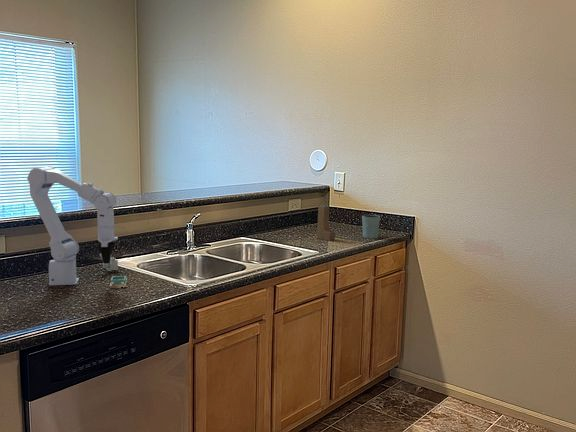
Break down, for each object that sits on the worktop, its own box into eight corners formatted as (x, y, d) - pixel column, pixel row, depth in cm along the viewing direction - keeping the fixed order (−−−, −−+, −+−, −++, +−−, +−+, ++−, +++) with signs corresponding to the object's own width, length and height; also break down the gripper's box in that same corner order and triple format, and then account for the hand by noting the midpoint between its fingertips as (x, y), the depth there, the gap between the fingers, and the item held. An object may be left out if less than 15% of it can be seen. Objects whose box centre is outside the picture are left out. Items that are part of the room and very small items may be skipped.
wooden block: (334, 239, 302) (336, 207, 299) (329, 241, 298) (331, 207, 296) (322, 237, 308) (323, 205, 305) (316, 238, 305) (318, 205, 302)
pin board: (109, 288, 204) (109, 281, 204) (112, 281, 213) (111, 274, 213) (125, 287, 206) (125, 281, 205) (127, 280, 215) (126, 274, 214)
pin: (102, 268, 205) (101, 249, 204) (103, 266, 208) (102, 247, 207) (111, 268, 205) (110, 249, 204) (111, 265, 208) (111, 247, 207)
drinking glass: (373, 239, 306) (374, 217, 304) (357, 236, 312) (358, 215, 310) (382, 236, 314) (383, 215, 312) (366, 234, 320) (367, 213, 318)
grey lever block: (116, 269, 231) (115, 250, 229) (118, 270, 229) (117, 251, 228) (99, 272, 226) (99, 252, 225) (101, 272, 225) (101, 253, 223)
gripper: (115, 229, 198) (116, 266, 200) (118, 222, 212) (119, 257, 214) (94, 229, 196) (96, 267, 199) (99, 222, 210) (100, 257, 213)
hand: (107, 262), depth 206 cm, fingers closed on pin, 3 cm apart
